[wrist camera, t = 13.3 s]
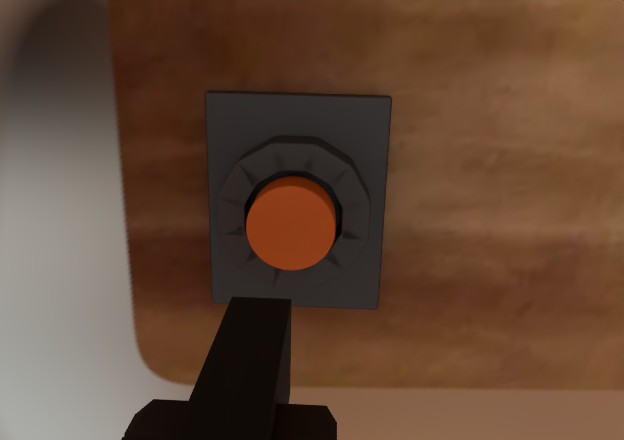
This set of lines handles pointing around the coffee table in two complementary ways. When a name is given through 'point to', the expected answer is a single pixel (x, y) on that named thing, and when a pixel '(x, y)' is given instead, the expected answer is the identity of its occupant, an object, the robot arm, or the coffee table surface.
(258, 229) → the button
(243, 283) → the block
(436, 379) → the coffee table surface
